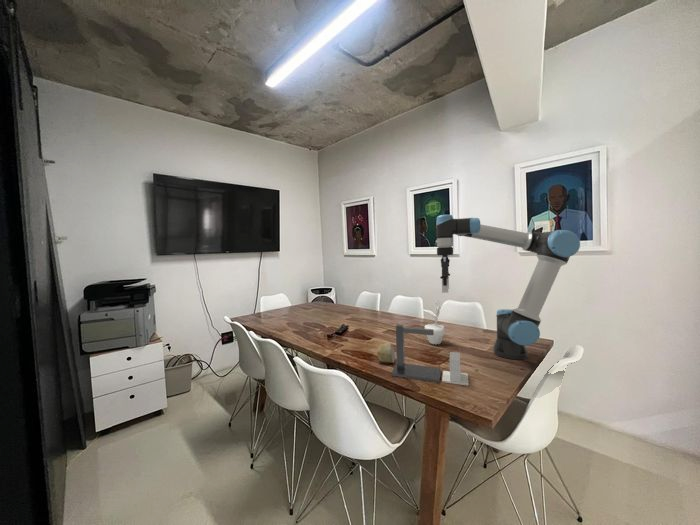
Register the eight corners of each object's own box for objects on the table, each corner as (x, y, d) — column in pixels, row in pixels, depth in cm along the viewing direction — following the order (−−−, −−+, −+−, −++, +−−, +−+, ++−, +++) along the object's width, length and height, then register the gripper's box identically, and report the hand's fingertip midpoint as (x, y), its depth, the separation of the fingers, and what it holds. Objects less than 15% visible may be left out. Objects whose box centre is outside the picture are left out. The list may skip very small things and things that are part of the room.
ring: (460, 373, 118) (459, 352, 118) (460, 382, 110) (460, 360, 110) (450, 371, 120) (450, 351, 120) (449, 381, 111) (449, 359, 111)
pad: (467, 375, 118) (467, 373, 118) (468, 385, 108) (468, 384, 108) (443, 371, 121) (443, 370, 121) (442, 381, 112) (442, 380, 112)
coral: (398, 352, 127) (379, 342, 130) (390, 370, 130) (371, 360, 133) (402, 344, 136) (384, 335, 139) (394, 361, 139) (377, 351, 142)
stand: (441, 370, 123) (440, 324, 122) (439, 382, 112) (438, 332, 111) (397, 365, 130) (396, 321, 129) (391, 375, 119) (390, 328, 118)
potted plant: (447, 341, 162) (446, 299, 161) (442, 347, 152) (441, 303, 151) (426, 338, 169) (425, 298, 168) (420, 344, 159) (419, 301, 158)
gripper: (438, 247, 145) (439, 287, 146) (435, 247, 122) (435, 294, 123) (453, 247, 142) (454, 287, 143) (452, 246, 119) (453, 294, 120)
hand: (445, 290), depth 133 cm, fingers open, 13 cm apart
